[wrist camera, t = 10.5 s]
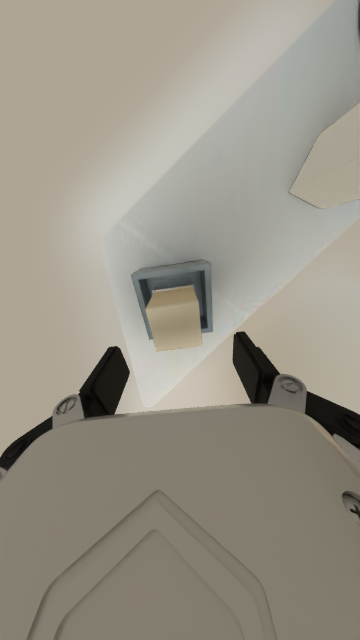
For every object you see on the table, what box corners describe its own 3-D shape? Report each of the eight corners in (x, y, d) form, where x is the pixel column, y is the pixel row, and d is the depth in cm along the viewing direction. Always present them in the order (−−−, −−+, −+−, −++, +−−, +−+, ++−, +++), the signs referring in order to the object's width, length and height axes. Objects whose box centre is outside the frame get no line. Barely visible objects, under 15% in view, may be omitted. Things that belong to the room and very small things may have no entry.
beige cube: (192, 286, 20) (198, 302, 14) (195, 320, 23) (202, 345, 17) (154, 292, 20) (145, 309, 15) (161, 325, 23) (156, 351, 17)
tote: (203, 259, 24) (210, 262, 19) (206, 317, 29) (212, 331, 24) (140, 269, 25) (130, 274, 20) (153, 324, 30) (149, 339, 25)
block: (190, 277, 24) (193, 284, 20) (194, 309, 27) (197, 322, 23) (156, 282, 25) (152, 290, 20) (163, 313, 27) (160, 326, 23)
